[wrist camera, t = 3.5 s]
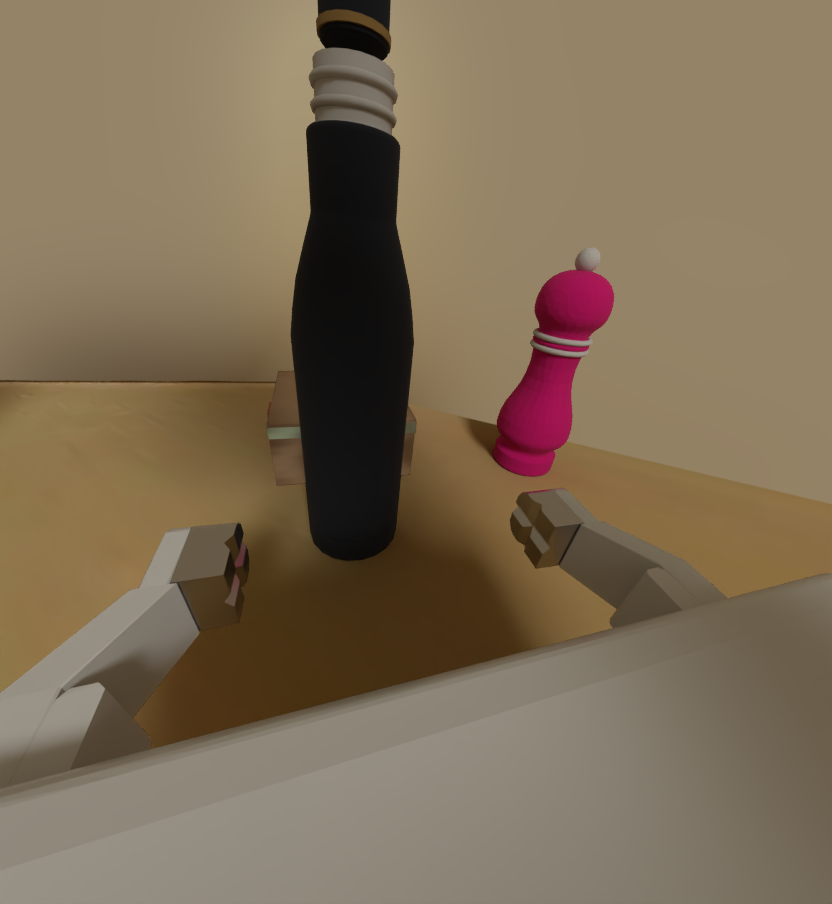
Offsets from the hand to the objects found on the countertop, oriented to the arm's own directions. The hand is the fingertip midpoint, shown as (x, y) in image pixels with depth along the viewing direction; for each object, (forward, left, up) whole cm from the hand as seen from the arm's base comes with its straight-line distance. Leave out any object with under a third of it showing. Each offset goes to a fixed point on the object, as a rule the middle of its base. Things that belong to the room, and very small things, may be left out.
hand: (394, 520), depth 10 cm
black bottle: (0, +12, -12) cm, 17 cm away
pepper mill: (+19, +18, -12) cm, 29 cm away
